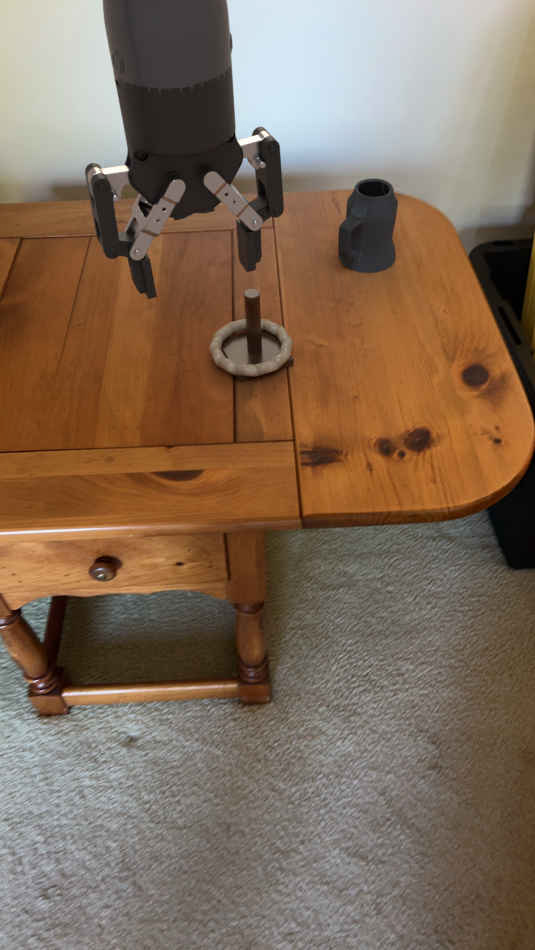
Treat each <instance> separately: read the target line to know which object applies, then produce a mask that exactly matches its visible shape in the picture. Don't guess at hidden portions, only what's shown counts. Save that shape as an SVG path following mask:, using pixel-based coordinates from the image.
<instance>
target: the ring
mask: <svg viewBox="0 0 535 950" xmlns="http://www.w3.org/2000/svg"><path fill="white" fill-rule="evenodd" d="M261 330H265V331H267V332H269V333H271V334H273V335H275V336H277V338H278V339H279V341H280V342H281V349H280V352H279V353H278V354H277V355H276V356H275V357H274V358H272V359H271V360H269V361H266V362H262V363H259V364H256V365H251V364H238V363H236V362H234V361H232V360H230V359H228V358H226V357H225V356H224V354H223V352H222V351H221V347H222V343H223V341H224V340H225V339H226V338H227V337H229V336H232V335H233V334H235V333H238V332H239V333H240V332H242V331H246V318H245V317H244V318H240V319H237V320H233V321H230V322H227V323H226V324H224V325H223V326H222V327H220V329H218V330H217V331H216V332H215V333H213V335H212V338H211V340H210V345H209V348H208V352H209V354H210V355H211V357H212V360H213V361H214V363H215V365H216V366H217V367H218V368H220V369H222V370H223V371H226V372H228V373H230V374H232V375H234V376H235V375H242V376H257V377H260V376H264V375H267V374H270V373H273V372H277V371H278V370H277V369H279V368H280V367H281V366H282V365H283V364H284V363H285V362H286V361H287V360H289V358H290V357H291V356H292V351H293V344H294V340H293V338H291V335H290V334H289V333H288V331H287V330H286V328H285V327H284V326H283V325H280V324H279V323H276V322H274V321H271V320H269V319H267V318H261ZM276 370H277V371H276ZM266 373H267V374H266ZM263 374H264V375H263Z"/></svg>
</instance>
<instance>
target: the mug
mask: <svg viewBox="0 0 535 950" xmlns="http://www.w3.org/2000/svg"><path fill="white" fill-rule="evenodd" d="M346 201H347V202H346V210H345V211H346V212H345V219H344V220H343V221H342V222H341V223H340V224H339V227H338V240H337V243H338V244H337V254H338V255H337V257H338V260H339V263H341V264H342V265H343V266H344V267H345V268H348V269H349V270H350V271H354V272H357V273H367V274H372V273H379V272H383V271H386V270H387V269H389V268H391V267H392V266H393V265H394V264H395V262H396V258H397V255H396V254H397V253H396V245H395V243H394V240H393V237H394V236H393V235H394V229H395V224H396V222H397V221H396V220H397V213H398V207H399V206H398V205H399V201H398V198H397V196H396V195H395V189H394V187H393V185H392V183H391V182H389V181H388V180H386V179H385V180H384V179H383V178H382V179H381V178H375V177H374V178H373V177H372V178H365V179H361V180H360V181H358V182H357V183H356V184H355V185H354V188H353V191H352V192H351V193H350V195H349V196H348V197H347V200H346Z"/></svg>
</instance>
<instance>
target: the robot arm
mask: <svg viewBox="0 0 535 950" xmlns="http://www.w3.org/2000/svg"><path fill="white" fill-rule="evenodd" d="M102 13H103V23H104V30H105V36H106V40H107V45H108V51H109V57H110V61H111V67H112V73H113V77H114V83H115V89H116V93H117V98H118V103H119V109H120V114H121V119H122V120H121V121H122V126H123V131H124V136H125V142H126V147H127V154H126V159H125V162H124V164H121V165H116V166H115V165H114V166H110V167H109V166H108V167H103V168H102V167H101V165H100V164H98V163H97V162H90V163H89V164H87V166H86V167H85V169H84V175H85V179H86V185H87V191H88V192H87V193H88V198H89V203H90V209H91V215H92V219H93V224H94V230H95V235H96V236H95V237H96V239H97V241H98V243H99V244H100V246H101V248H102V252H103V254H104V255H105V257H106V258H107V259H110V260H115V259H117V258H119V257H124V258H126V259H127V262H128V263H127V264H128V268H129V273H130V277H131V280H132V283H133V285H134V287H135V288H136V290H137V292H138V293H139V294H140V295H142V294H145V296H146V298H147V300H151V299H154V298H157V296H158V295H157V289H156V283H155V278H154V274H153V268H152V267H153V266H152V263H151V258H150V256H149V254H148V251H149V250H150V247H151V245H152V243H153V241H154V240H155V238H157V237H160V235H161V233H162V232H163V230H164V228H165V226H166V224H167V222H168V220H169V218H171V219H173V221H180V220H183V219H186V218H188V217H190V216H192V215H194V214H208V213H213V212H215V208H217V206H219V205H220V204H221V203H223V205H224V206H225V207H226V208H227V209H228V210H229V211H230V212H231V213H232V214H233V215H234V216H236V217H237V218H238V219H235V223H236V239H237V252H238V253H237V254H238V255H237V256H238V260H239V263H240V265H241V266H242V267H243V269H244V270H245V272H246V273H250V272H254V271H256V270H257V264H259V263H261V260H262V256H263V255H262V254H263V253H262V252H263V251H262V227H263V224H264V223H265V222H266V221H267V220H269V219H271V218H274V219H278V218H279V217H281V216H282V215H283V213H284V211H285V206H284V205H285V204H284V202H285V201H284V189H283V187H284V186H283V174H282V173H283V172H282V171H283V170H282V159H281V158H282V157H281V156H282V155H281V145H280V143H279V142H278V140H277V139H276V138H275V137H274V136H273V135H272V134H271V133H270V132H269V131H268V130H267V129H266V127H263V126H257V127H256V128H254V129H253V131H252V134H251V136H248V137H245V138H241V139H237V135H236V130H237V129H236V126H237V125H236V110H235V93H234V78H233V77H234V76H233V60H232V53H233V35H232V33H231V28H230V15H229V6H228V0H102ZM244 159H247V162H248V163H249V164H250V165H251V167H252V168H253V169H254V174H255V184H256V192H257V193H256V196H257V197H255V198H253V199H251V200H250V201H248V200H247V199H246V198H245V197H244V195H243V194H242V193H241V192H240V191H238V190H237V188H236V187H235V186H234V185H233V184H232V183H233V181H234V180H235V178H236V176H237V173H238V172H239V170H240V168H241V166H242V164H243V161H244ZM127 185H130V186H131V187H132V188H133V190H135V191H136V192H137V197H136V198H135V200H134V203H133V204H132V207H131V214H130V217H129V219H128V221H127V223H126V225H125V227H124V229H123V231H118V229H119V228H118V223H117V215H116V210H115V204H116V203H118V202H119V201H120V200H121V198H122V194H123V189H124V188H125V186H127Z"/></svg>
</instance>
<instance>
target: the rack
mask: <svg viewBox="0 0 535 950" xmlns="http://www.w3.org/2000/svg"><path fill="white" fill-rule="evenodd" d="M243 300H244V316H245V317H244V318H246V330H245V331H243V332H239V333H237V334H232V335H230V336H229V337H227V338H226V339H225V340H224V341H223V343H222V347H221V351H222V352H223V354H224V356H225V357H226V358H228V359H230V360H232V361H234V362H236V363H238V364H251V365H256V364H259V363H262V362H266V361H269V360H271V359H272V358H274V357H275V356H276V355H277V354H278V353H279V352H280V349H281V342H280V341H279V339H278V338H277V336H275V335H273V334H271V333H269V332H267V331H265V330H261V319H262V310H261V292H260V290H259V289H257V288H248V289H245V291H244V292H243ZM294 363H295V361H294V358H293V356H292V355H291V357H290V358H289V360H287V361H286V362H285V363H284V364H283V365H282V366H281V367H280V368H279V369H277V370H276V371H275V372H277V371H280V370H284V369H286V368H290V367H294ZM267 374H268V373H266V374H263V375H262V376H264V375H267ZM257 377H258V376H242V375H234V378H235V379H236V380H237V382H238V383H241V382H245V381H248V380H250V379H254V378H257Z"/></svg>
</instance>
